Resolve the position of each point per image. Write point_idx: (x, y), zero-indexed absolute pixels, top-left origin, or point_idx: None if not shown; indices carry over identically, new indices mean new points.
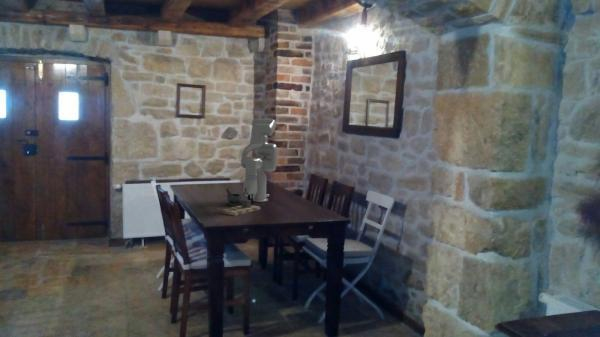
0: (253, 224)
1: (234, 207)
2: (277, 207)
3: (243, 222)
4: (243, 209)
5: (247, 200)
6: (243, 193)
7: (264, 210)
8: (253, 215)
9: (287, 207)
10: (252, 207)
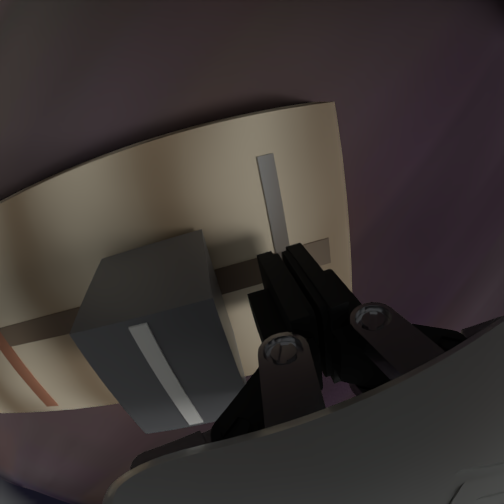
0: (63, 499)
1: (2, 237)
2: (471, 307)
3: (27, 476)
4: (72, 384)
5: (170, 415)
6: (111, 487)
7: None
8: (122, 446)
9: None
10: None
